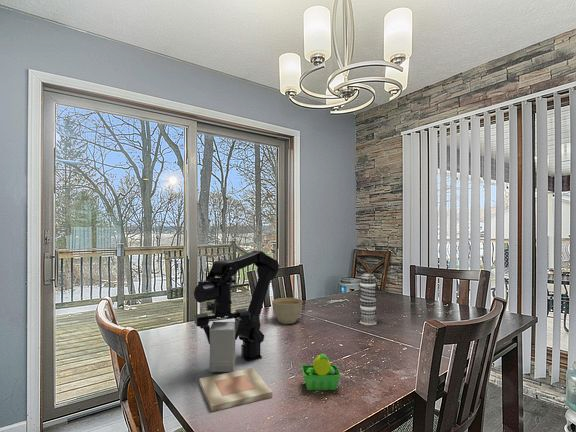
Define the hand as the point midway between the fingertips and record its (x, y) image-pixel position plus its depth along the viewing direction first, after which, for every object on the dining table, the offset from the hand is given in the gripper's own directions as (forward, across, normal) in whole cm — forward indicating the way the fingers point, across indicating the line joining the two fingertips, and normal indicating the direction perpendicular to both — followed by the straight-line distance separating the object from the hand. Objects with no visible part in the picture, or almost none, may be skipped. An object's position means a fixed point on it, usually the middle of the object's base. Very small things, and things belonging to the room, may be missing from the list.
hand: (222, 341), depth 116 cm
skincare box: (+9, 0, 0) cm, 9 cm away
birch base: (+10, 0, +15) cm, 18 cm away
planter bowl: (+10, -45, -43) cm, 63 cm away
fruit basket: (+10, -25, +25) cm, 37 cm away
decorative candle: (+10, -82, -23) cm, 86 cm away
